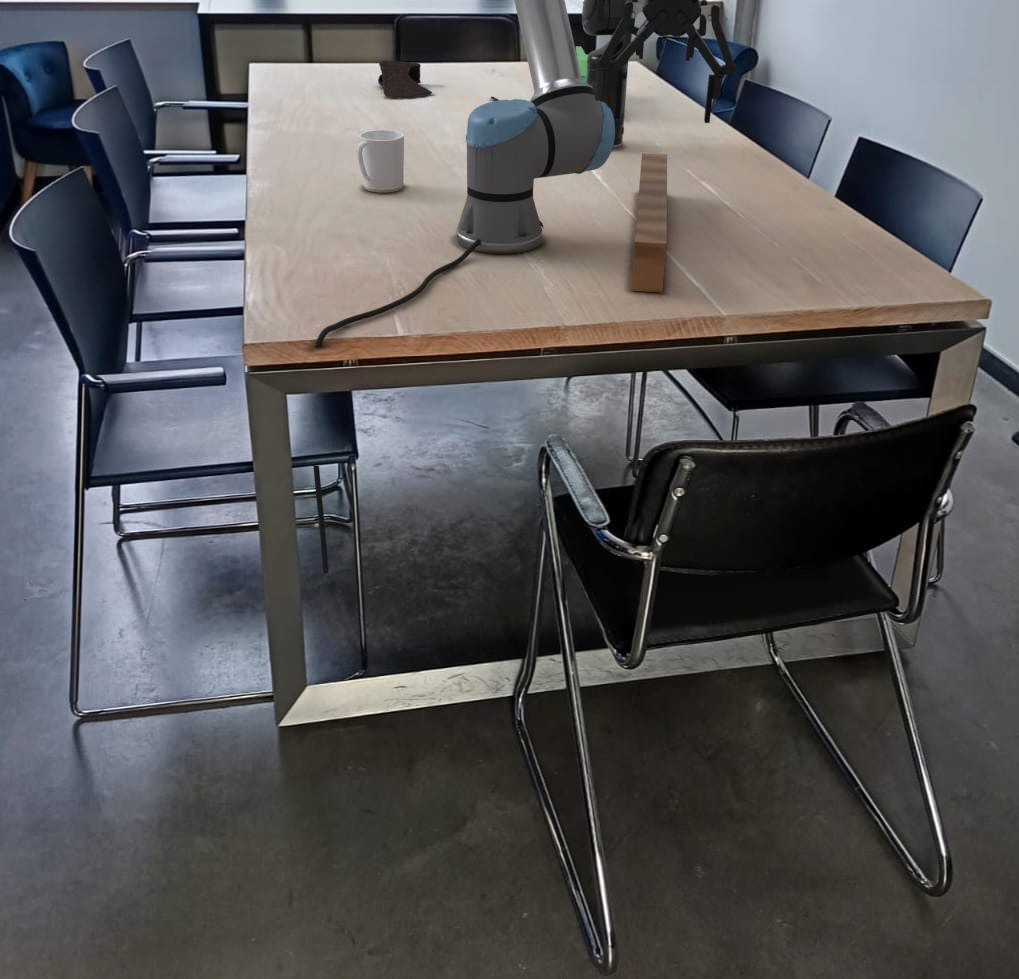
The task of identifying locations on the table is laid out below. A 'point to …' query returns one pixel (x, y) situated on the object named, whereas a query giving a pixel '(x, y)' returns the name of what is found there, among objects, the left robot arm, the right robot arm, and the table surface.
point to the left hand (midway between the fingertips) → (662, 119)
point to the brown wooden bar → (651, 225)
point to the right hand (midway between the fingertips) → (663, 59)
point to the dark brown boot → (401, 79)
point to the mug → (381, 160)
